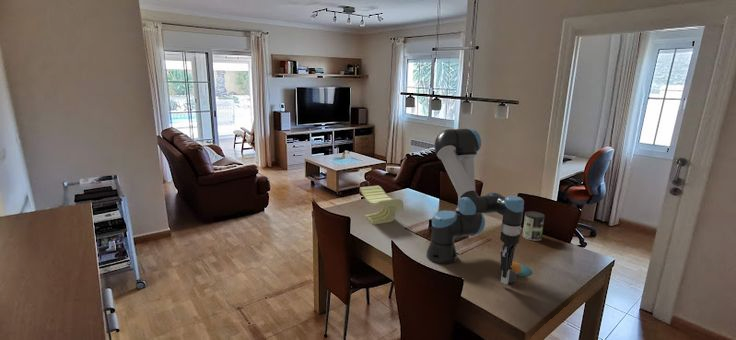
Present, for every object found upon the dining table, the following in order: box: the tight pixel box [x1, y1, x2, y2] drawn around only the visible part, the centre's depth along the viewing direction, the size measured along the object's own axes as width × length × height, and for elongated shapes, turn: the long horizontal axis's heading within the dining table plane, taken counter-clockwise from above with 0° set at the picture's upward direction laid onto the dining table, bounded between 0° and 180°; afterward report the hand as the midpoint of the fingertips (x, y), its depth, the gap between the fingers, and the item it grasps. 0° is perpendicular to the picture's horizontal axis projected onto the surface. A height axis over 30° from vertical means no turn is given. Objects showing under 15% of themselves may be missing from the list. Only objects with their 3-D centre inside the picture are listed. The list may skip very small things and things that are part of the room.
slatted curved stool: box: [359, 185, 404, 225], centre depth 232 cm, size 30×16×18 cm, turn 23°
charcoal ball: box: [508, 270, 518, 284], centre depth 164 cm, size 6×6×6 cm
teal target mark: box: [516, 263, 533, 277], centre depth 175 cm, size 12×12×1 cm
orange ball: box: [509, 261, 522, 274], centre depth 171 cm, size 6×6×6 cm
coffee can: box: [522, 210, 546, 242], centre depth 210 cm, size 10×10×14 cm
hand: (504, 282), depth 160 cm, fingers closed
